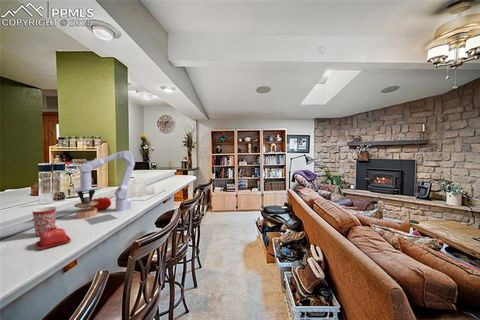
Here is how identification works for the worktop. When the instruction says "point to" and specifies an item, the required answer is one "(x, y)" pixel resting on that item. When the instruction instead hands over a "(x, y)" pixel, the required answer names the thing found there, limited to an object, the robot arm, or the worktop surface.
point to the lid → (86, 203)
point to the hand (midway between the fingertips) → (86, 202)
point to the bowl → (86, 213)
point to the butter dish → (52, 238)
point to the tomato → (102, 203)
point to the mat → (100, 219)
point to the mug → (43, 219)
